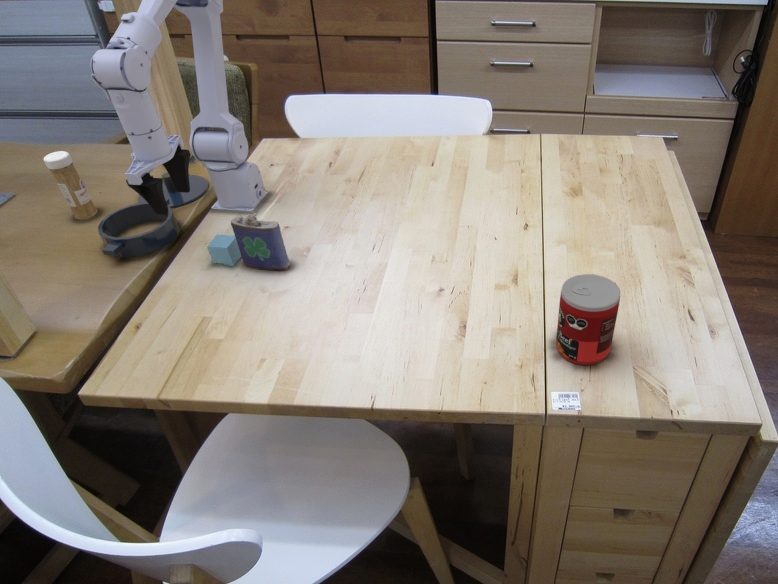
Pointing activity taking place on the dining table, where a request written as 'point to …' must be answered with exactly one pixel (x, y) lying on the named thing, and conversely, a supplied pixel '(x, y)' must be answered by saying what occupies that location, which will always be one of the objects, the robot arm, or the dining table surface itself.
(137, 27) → the robot arm
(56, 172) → the sprinkles bottle
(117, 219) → the pot
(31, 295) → the dining table surface
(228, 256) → the blue cube
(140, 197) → the lid
